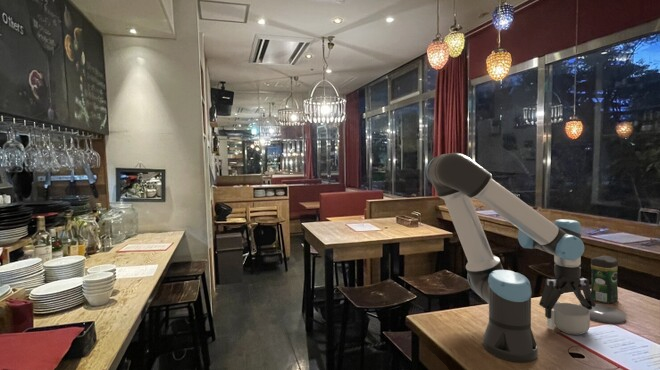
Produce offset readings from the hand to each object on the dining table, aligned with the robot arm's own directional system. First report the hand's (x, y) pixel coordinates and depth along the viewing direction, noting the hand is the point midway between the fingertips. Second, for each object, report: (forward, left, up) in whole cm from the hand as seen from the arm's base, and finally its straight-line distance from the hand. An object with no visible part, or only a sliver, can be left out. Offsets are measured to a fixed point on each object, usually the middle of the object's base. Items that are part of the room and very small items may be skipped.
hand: (567, 326), depth 119 cm
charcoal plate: (+20, +10, -1) cm, 22 cm away
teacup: (0, 0, -1) cm, 1 cm away
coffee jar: (+33, +24, -1) cm, 41 cm away
